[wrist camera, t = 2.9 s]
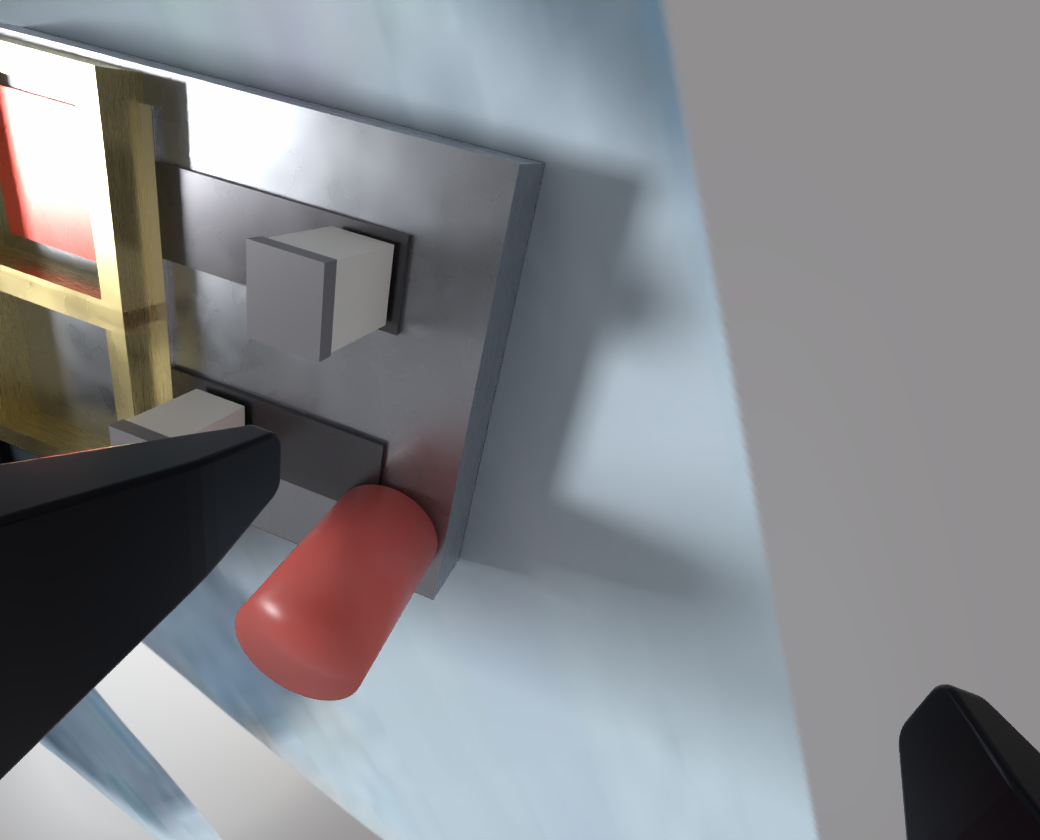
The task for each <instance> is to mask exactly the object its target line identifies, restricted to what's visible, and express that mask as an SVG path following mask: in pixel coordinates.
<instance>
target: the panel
mask: <svg viewBox="0 0 1040 840" xmlns="http://www.w3.org/2000/svg"><path fill="white" fill-rule="evenodd" d="M544 164H545V163H541V162H538V161H534V160H530V159H526V158H522V157H518V156H515V155H511V154H507V153H503V152H499V151H495V150H492V149H488V148H484V147H480V146H476V145H472V144H469V143H465V142H461V141H457V140H453V139H449V138H446V137H442V136H438V135H434V134H430V133H426V132H423V131H419V130H415V129H411V128H407V127H403V126H400V125H396V124H392V123H388V122H384V121H380V120H377V119H373V118H369V117H365V116H361V115H357V114H354V113H350V112H346V111H342V110H338V109H334V108H331V107H327V106H323V105H319V104H315V103H311V102H308V101H304V100H300V99H296V98H292V97H288V96H285V95H281V94H277V93H273V92H269V91H265V90H262V89H258V88H254V87H250V86H246V85H242V84H239V83H235V82H231V81H227V80H223V79H219V78H216V77H212V76H208V75H204V74H200V73H196V72H193V71H189V70H185V69H181V68H177V67H173V66H170V65H166V64H162V63H158V62H154V61H150V60H147V59H143V58H139V57H135V56H131V55H127V54H124V53H120V52H116V51H112V50H108V49H104V48H100V47H97V46H93V45H89V44H85V43H81V42H77V41H74V40H70V39H66V38H62V37H58V36H54V35H51V34H47V33H43V32H39V31H35V30H31V29H28V28H24V27H20V26H15V25H9V24H4V23H0V440H2V441H4V442H6V443H9V444H11V445H14V446H16V447H18V448H21V449H23V450H26V451H28V452H30V453H33V454H35V455H38V456H40V457H42V458H43V457H49V456H56V455H62V454H68V453H75V452H81V451H87V450H94V449H100V448H106V447H111V441H110V434H109V425H111V424H113V423H115V422H118V421H120V420H122V419H124V420H128V419H130V418H132V417H134V416H137V415H139V414H141V413H143V412H146V411H148V410H150V409H152V408H155V407H157V406H159V405H161V404H163V403H166V402H168V401H170V400H172V399H175V398H177V397H179V396H181V395H184V394H186V393H188V392H190V391H192V390H195V389H199V390H202V391H205V392H207V393H210V394H213V395H215V396H218V397H221V398H224V399H226V400H229V401H232V402H234V403H237V404H240V405H242V406H245V426H246V425H255V426H258V427H261V428H264V429H266V430H269V431H272V432H274V433H276V434H277V435H278V436H279V438H280V441H281V470H280V484H279V487H278V490H277V492H276V494H275V495H274V497H273V498H272V499H271V501H270V502H269V503H268V504H267V505H266V507H265V508H264V509H263V510H262V511H261V513H260V514H259V515H258V516H257V517H256V519H255V520H254V521H253V522H252V523H251V525H252V526H254V527H257V528H259V529H262V530H264V531H267V532H269V533H272V534H274V535H276V536H279V537H281V538H284V539H286V540H289V541H291V542H293V543H296V544H298V545H299V543H300V542H301V541H302V540H303V539H304V538H305V537H306V536H307V535H308V533H309V532H310V531H311V530H312V529H313V528H314V527H315V526H316V525H317V524H318V522H319V521H320V520H321V519H322V518H323V517H324V516H325V515H326V514H327V513H328V511H329V510H330V509H331V508H332V507H333V506H334V505H335V504H336V503H337V502H338V500H339V499H340V498H341V497H342V496H343V495H344V494H345V493H346V492H347V491H349V490H350V489H352V488H354V487H357V486H361V485H369V484H373V485H382V486H386V487H389V488H392V489H395V490H397V491H399V492H401V493H403V494H405V495H406V496H408V497H410V498H411V499H412V500H414V501H415V502H416V503H417V504H418V505H419V506H420V507H421V508H422V509H423V510H424V511H425V512H426V513H427V515H428V516H429V518H430V519H431V521H432V523H433V525H434V528H435V530H436V534H437V540H438V546H437V551H436V555H435V557H434V559H433V560H432V562H431V564H430V566H429V567H428V569H427V571H426V572H425V574H424V576H423V578H422V579H421V581H420V583H419V585H418V586H417V588H416V590H415V591H414V592H415V593H418V594H420V595H423V596H425V597H427V598H430V599H432V600H434V598H435V596H436V595H437V593H438V592H439V590H440V588H441V587H442V585H443V584H444V582H445V581H446V579H447V577H448V576H449V574H450V573H451V571H452V570H453V568H454V566H455V565H456V563H457V562H458V560H459V556H460V551H461V547H462V542H463V538H464V533H465V528H466V524H467V519H468V515H469V510H470V505H471V501H472V496H473V491H474V487H475V482H476V478H477V473H478V468H479V464H480V459H481V455H482V450H483V445H484V441H485V436H486V432H487V427H488V422H489V418H490V413H491V408H492V404H493V399H494V395H495V390H496V385H497V381H498V376H499V372H500V367H501V362H502V358H503V353H504V349H505V344H506V339H507V335H508V330H509V325H510V321H511V316H512V312H513V307H514V302H515V298H516V293H517V289H518V284H519V279H520V275H521V270H522V266H523V261H524V256H525V252H526V247H527V242H528V238H529V233H530V229H531V224H532V219H533V215H534V210H535V206H536V201H537V196H538V192H539V187H540V183H541V178H542V173H543V169H544ZM329 226H333V227H337V228H340V229H343V230H347V231H350V232H353V233H357V234H360V235H363V236H367V237H370V238H373V239H377V240H380V241H383V242H387V243H390V244H393V245H394V252H393V261H392V270H391V279H390V288H389V298H388V307H387V316H386V325H385V326H383V327H381V328H379V329H377V330H375V331H373V332H371V333H369V334H367V335H365V336H363V337H361V338H359V339H357V340H355V341H353V342H351V343H350V344H348V345H346V346H344V347H342V348H340V349H338V350H336V351H334V352H332V353H331V356H330V357H328V358H327V359H325V360H323V361H321V362H317V361H314V360H311V359H308V358H305V357H302V356H299V355H297V354H294V353H291V352H288V351H285V350H282V349H279V348H276V347H273V346H271V345H268V344H265V343H262V342H259V341H256V340H253V339H250V338H247V280H246V238H251V237H257V236H263V237H266V238H268V237H274V236H279V235H285V234H290V233H296V232H301V231H307V230H312V229H318V228H323V227H329Z"/></svg>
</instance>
